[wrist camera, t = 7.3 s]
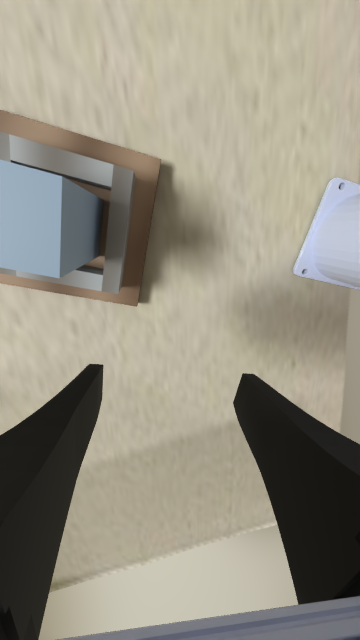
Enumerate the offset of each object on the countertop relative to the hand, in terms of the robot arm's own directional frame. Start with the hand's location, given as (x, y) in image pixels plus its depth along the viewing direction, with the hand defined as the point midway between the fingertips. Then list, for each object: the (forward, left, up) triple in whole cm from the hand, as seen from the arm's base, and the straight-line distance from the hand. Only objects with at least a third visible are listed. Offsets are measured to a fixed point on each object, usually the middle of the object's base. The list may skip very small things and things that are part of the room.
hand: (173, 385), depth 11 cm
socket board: (+8, -6, -10) cm, 14 cm away
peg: (+8, -6, -9) cm, 14 cm away
